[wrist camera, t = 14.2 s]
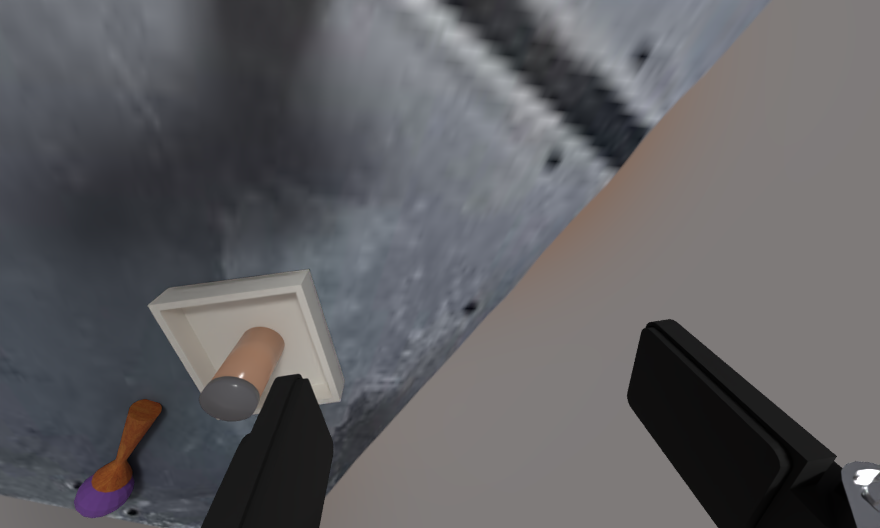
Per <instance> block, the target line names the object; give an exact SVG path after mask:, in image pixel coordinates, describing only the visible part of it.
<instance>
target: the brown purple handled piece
mask: <svg viewBox="0 0 880 528" xmlns="http://www.w3.org/2000/svg"><path fill="white" fill-rule="evenodd" d="M161 409H162V407H161V405H160V403H157V402H154V401H150V400H147V399H143V400H139V401H137V402H135V403H133V404H132V405H131V407H130V408H129V412H128V416H127V419H126V423H125V427H124V431H123V435H122V438H121V442H120V446H119V450H118V453H117V457H116V460H114V461H112V462H110V463H108V464H107V465H105V466H103V467H102V468H100V469H99V470H98V471H97V472H96V473H95V474H94V475H92V476H91V477H89V478H87V479H86V480H85V481H84V483H83V484H82V485H81V486H80V487H79V489H78V492H77V494H76V497H75V500H74V504H75V508H76V510H77V511H78V512H79V513H80V514H81V515H82V516H84V517H89V518H96V517H102V516H105V515H107V514H109V513H111V512H113V511H115V510H117V509H118V508H119V507H120V506H122V505H123V504H124V503H125V502H126V500H127V499H128V497H129V496H130V494H131V493H132V491H133V487H134V479H133V476H132V473H133V472H132V469H131V466H130V465H129V463H128V462H127V459H128V457H129V456H130V454H131V453H132V452H133V450H134V449H135V447H136V446H137V445H138V443H139V442H140V440H141V439H142V438H143V436H144V435H145V433H146V432H147V431H148V429H149V428H150V427H151V425H152V424H153V422H154V421H155V420H156V418H157V417H158V415H159V414H160V413H161Z"/></svg>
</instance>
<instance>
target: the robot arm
mask: <svg viewBox="0 0 880 528" xmlns="http://www.w3.org/2000/svg"><path fill="white" fill-rule="evenodd" d="M627 399H628V403H629V405H630V407H631V408H632V410H633V411H634V412H635V414H636V415H637V417H638V418H639V419H640V421H641V422H642V423H643V425H644V426H645V428H646V429H647V430H648V432H649V433H650V434H651V436H652V437H653V439H654V440H655V441H656V443H657V444H658V446H659V447H660V448H661V449H662V451H663V452H664V454H665V455H666V456H667V458H668V459H669V461H670V462H671V463H672V465H673V466H674V468H675V469H676V470H677V472H678V473H679V474H680V476H681V477H682V479H683V480H684V481H685V482H686V484H687V485H688V487H689V488H690V490H691V491H692V492H693V494H694V495H695V497H696V498H697V499H698V500H699V502H700V503H701V505H702V506H703V507H704V509H705V510H706V512H707V513H708V514H709V516H710V517H711V519H712V520H713V521H714V523H715V524H716V525H717V527H718V528H880V465H877V464H874V463H869V462H852V463H848V464H846V465H845V466H844V467H843V468H842V467H840V466H839V465H838V464H837V463H836V462H834V460H835V458H836V457H837V456H836V455H835V454H834V453H832V452H831V451H830V450H829V449H828V448H826V447H825V446H824V445H823V444H821V443H820V442H819V441H818V440H816V438H814V437H813V436H812V435H811V434H810V433H809V432H807V431H806V430H805V429H804V428H803V427H801V426H800V425H799V424H798V423H797V422H795V421H794V420H793V419H792V418H790V417H789V416H788V415H787V414H786V413H785V412H783V411H782V410H781V409H780V408H779V407H777V406H776V405H775V404H774V403H773V402H772V401H770V400H769V399H768V398H767V397H765V396H764V395H763V394H762V393H761V392H760V391H758V390H757V389H756V388H755V387H754V386H752V385H751V384H750V383H749V382H747V381H746V380H745V379H744V378H743V377H742V376H741V375H739V374H738V373H737V372H735V371H734V370H733V369H732V368H731V367H730V366H729V365H727V364H726V363H725V362H724V361H723V360H721V359H720V358H719V357H718V356H717V355H715V354H714V353H713V352H712V351H711V350H709V349H708V348H707V347H706V346H705V345H703V344H702V343H701V342H700V341H699V340H698V339H696V338H695V337H694V336H693V335H692V334H690V333H689V332H688V331H687V330H686V329H684V328H683V327H682V326H681V325H680V324H678V323H677V322H676V321H674V320H671V319H668V320H661V321H655V322H649V323H648V324H647V326H646V328H644V329H643V330H642V332H641V336H640V341H639V344H638V349H637V353H636V358H635V362H634V366H633V371H632V375H631V379H630V384H629V388H628V393H627ZM332 457H333V441H332V438H331V435H330V433H329V430H328V428H327V425H326V422H325V420H324V417H323V415H322V412H321V409H320V407H319V404H318V402H317V399H316V397H315V394H314V391H313V389H312V386H311V384H310V381H309V379H308V378H304V379H303V378H302V376H301V375H300V374H293V375H286V376H280V377H277V378H275V380H274V381H273V384H272V386H271V388H270V390H269V393H268V395H267V397H266V399H265V402H264V404H263V406H262V408H261V411H260V413H259V415H258V417H257V420H256V422H255V424H254V426H253V429H252V431H251V433H250V434H247V435H246V436H245V437H244V438H243V439H242V441H241V442H240V444H239V446H238V448H237V450H236V452H235V455H234V457H233V459H232V461H231V463H230V465H229V468H228V470H227V472H226V474H225V476H224V478H223V481H222V483H221V485H220V487H219V489H218V491H217V494H216V496H215V498H214V500H213V502H212V505H211V507H210V509H209V511H208V513H207V515H206V518H205V520H204V522H203V524H202V526H201V528H319V526H320V521H321V515H322V510H323V504H324V500H325V494H326V489H327V484H328V478H329V473H330V468H331V463H332Z"/></svg>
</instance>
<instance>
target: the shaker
mask: <svg viewBox="0 0 880 528" xmlns="http://www.w3.org/2000/svg"><path fill="white" fill-rule="evenodd" d="M284 347H285V343H284V340H283V338H282V337H281V335H280V334H279V333H277V332H276V331H274V330H272V329H270V328H266V327H253V328H250V329H248V330H247V331H245V332H244V334H243V335H242V337H241V338H240V339H239V341H238V342H237V344H236V345H235V347H234V348H233V350H232V351H231V352H230V354H229V355H228V357H227V358H226V360H225V361H224V363H223V364H222V365H221V367H220V368H219V370H218V371H217V373H216V374H215V375H214V377H213V378H212V380H211V381H210V382H209V383H208V384H207V385H206V387H205V388H204V389H203V391H202V392H201V394H200V397H199V403H200V405H201V407H202V409H203V410H204V411H205V412H206V413H208V414H209V415H211V416H212V417H214V418H217V419H220V420H224V421H241V420H244V419H247V418H248V417H250V416H251V415H252V414H253V413H254V412H255V410H256V408H257V406H258V404H259V401H260V397H261V395H262V393H263V391H264V389H265V387H266V385H267V383H268V381H269V379H270V377H271V375H272V373H273V371H274V369H275V367H276V365H277V363H278V361H279V359H280V357H281V355H282V353H283V350H284Z"/></svg>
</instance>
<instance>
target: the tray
mask: <svg viewBox="0 0 880 528" xmlns="http://www.w3.org/2000/svg"><path fill="white" fill-rule="evenodd" d="M147 306H148V307H149V309H150V310H151V312H152V314H153V315H154V317H155V319H156V320H157V322H158V324H159V325H160V327H161V329H162V330H163V332H164V333H165V335H166V337H167V338H168V340H169V342H170V343H171V345H172V347H173V348H174V350H175V352H176V353H177V355H178V356H179V358H180V360H181V361H182V363H183V365H184V366H185V368H186V370H187V371H188V373H189V375H190V376H191V378H192V379H193V381H194V383H195V384H196V386H197V388H198V389H199V391H200V393H201V392H202V391H203V389H204V388H205V387H206V385H207V384H208V383H209V382H210V381H211V380H212V378H213V377H214V375H215V374H216V373H217V371H218V370H219V368H220V367H221V365H222V364H223V363H224V361H225V360H226V358H227V357H228V355H229V354H230V352H231V351H232V350H233V348H234V347H235V345H236V344H237V342H238V341H239V339H240V338H241V337H242V335H243V334H244V332H245V331H247V330H248V329H250V328H253V327H266V328H270V329H272V330H274V331H276V332H277V333H279V334H280V335H281V337H282V338H283V340H284V343H285V347H284V350H283V353H282V355H281V357H280V359H279V361H278V363H277V365H276V367H275V369H274V371H273V373H272V375H271V377H270V379H269V381H268V383H267V385H266V387H265V389H264V391H263V393H262V395H261V397H260V401H259V404H258V406H257V408H256V410H255V412H254V413H253V414H259V413H260V411H261V408H262V406H263V404H264V402H265V399H266V397H267V395H268V393H269V390H270V388H271V386H272V384H273V381H274V380H275V378H277V377H280V376H286V375H293V374H300V375H301V376H302V378H303V379H304V378H308V379H309V381H310V384H311V386H312V389H313V391H314V394H315V397H316V399H317V402H318V404H325V403H332V402H339V401H341V397H342V392H343V387H344V382H345V380H344V377H343V374H342V370H341V367H340V364H339V361H338V358H337V355H336V352H335V348H334V345H333V342H332V339H331V336H330V333H329V330H328V326H327V323H326V320H325V317H324V314H323V311H322V308H321V304H320V301H319V298H318V295H317V292H316V289H315V286H314V283H313V279H312V276H311V273H310V270H309V269H306V270H298V271H291V272H283V273H276V274H268V275H261V276H253V277H246V278H238V279H231V280H223V281H216V282H208V283H201V284H193V285H186V286H178V287H171V288H168V289H166V290H165V291H164V292H163V293H162V294H160V295H159V296H158V297H157V298H156V299H155V300H153V301H152V302H151V303H150V304H149V305H147ZM253 414H252V415H253ZM216 419H217V418H216ZM217 420H220V419H217Z"/></svg>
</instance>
